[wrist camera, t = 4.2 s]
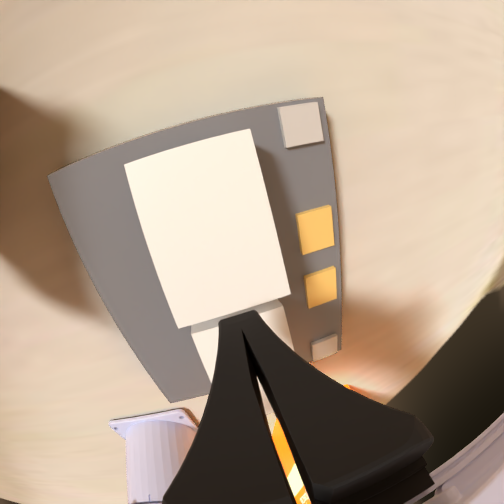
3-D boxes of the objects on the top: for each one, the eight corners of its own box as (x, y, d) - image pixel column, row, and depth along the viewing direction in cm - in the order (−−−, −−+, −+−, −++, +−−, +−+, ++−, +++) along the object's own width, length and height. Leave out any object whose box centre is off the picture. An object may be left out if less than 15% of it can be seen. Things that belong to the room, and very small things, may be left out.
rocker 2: (298, 387, 18) (306, 401, 17) (227, 409, 18) (230, 425, 16) (275, 296, 17) (283, 306, 15) (191, 322, 16) (191, 334, 15)
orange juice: (348, 383, 28) (438, 534, 10) (328, 424, 31) (392, 549, 14) (278, 400, 26) (357, 580, 8) (269, 439, 30) (324, 580, 12)
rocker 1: (280, 282, 14) (290, 294, 12) (179, 313, 13) (178, 328, 12) (243, 135, 12) (249, 128, 11) (132, 166, 12) (123, 164, 10)
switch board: (332, 336, 23) (348, 359, 21) (169, 387, 21) (171, 415, 19) (309, 97, 14) (334, 96, 12) (58, 169, 13) (37, 181, 10)
